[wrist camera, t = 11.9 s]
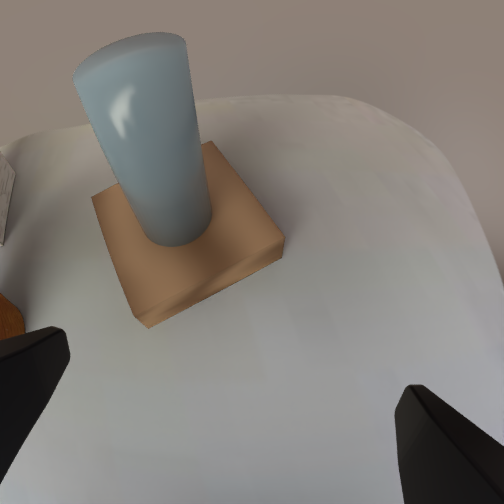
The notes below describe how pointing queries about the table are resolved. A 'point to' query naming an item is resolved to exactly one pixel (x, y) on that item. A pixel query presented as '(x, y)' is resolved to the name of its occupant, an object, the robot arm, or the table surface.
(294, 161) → the table surface
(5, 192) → the light bulb box
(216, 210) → the walnut base
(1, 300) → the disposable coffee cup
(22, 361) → the robot arm
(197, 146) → the slate canister
